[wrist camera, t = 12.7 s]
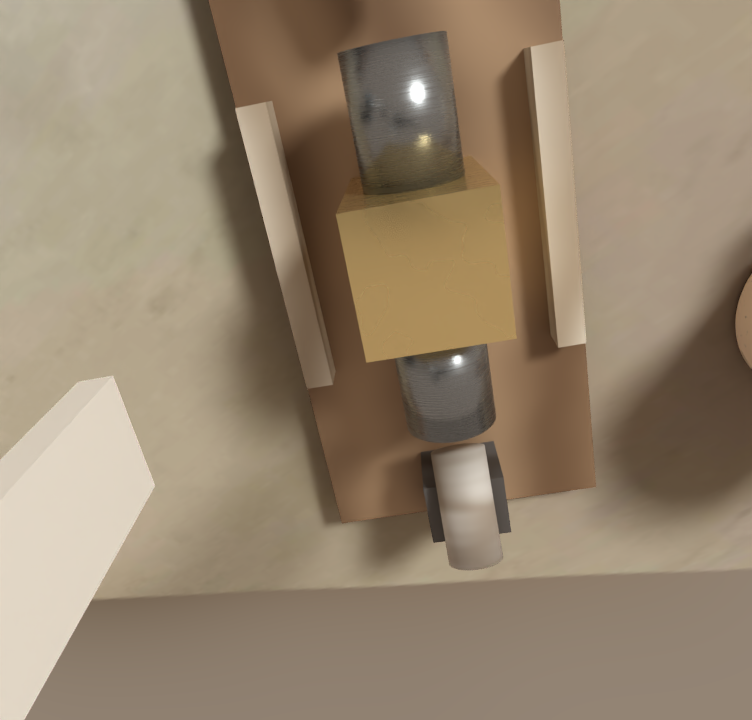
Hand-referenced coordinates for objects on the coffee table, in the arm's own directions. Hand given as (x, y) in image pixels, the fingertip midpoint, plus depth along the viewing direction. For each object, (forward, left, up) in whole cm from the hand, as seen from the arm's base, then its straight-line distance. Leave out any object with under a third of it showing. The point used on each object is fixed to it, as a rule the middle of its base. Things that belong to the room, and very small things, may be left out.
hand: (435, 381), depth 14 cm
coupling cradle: (0, 0, -18) cm, 18 cm away
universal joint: (0, 0, -16) cm, 16 cm away
